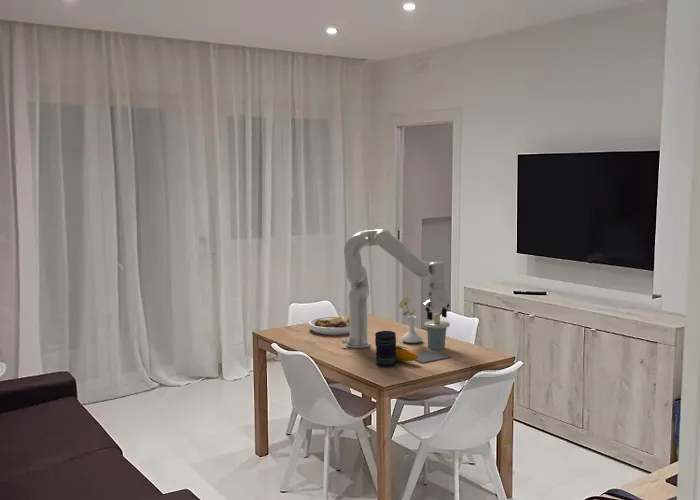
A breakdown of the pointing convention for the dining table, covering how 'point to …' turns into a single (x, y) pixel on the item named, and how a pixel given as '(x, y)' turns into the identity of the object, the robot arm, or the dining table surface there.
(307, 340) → the dining table surface
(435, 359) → the mat
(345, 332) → the bowl
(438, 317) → the lid
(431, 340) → the teal cup
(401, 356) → the corn
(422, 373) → the dining table surface
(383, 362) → the storage jar
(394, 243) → the robot arm
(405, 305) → the flower in vase
